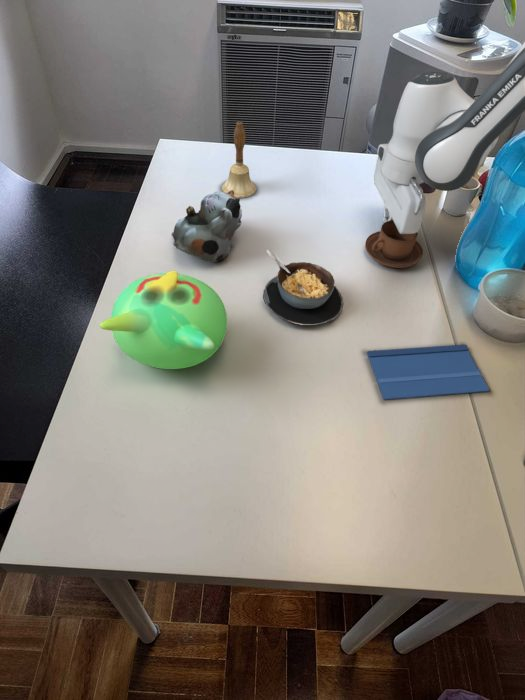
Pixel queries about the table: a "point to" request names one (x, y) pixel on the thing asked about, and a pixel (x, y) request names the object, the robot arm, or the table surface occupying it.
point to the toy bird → (168, 321)
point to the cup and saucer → (394, 247)
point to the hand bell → (239, 169)
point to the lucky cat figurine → (209, 227)
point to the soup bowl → (303, 293)
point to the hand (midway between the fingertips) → (388, 226)
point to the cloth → (426, 372)
